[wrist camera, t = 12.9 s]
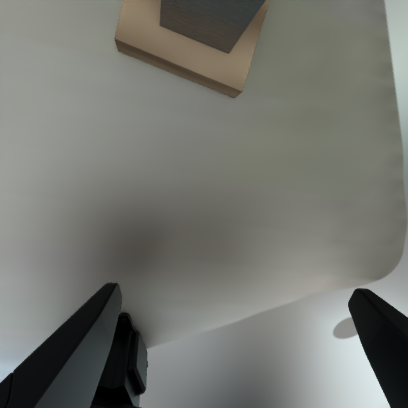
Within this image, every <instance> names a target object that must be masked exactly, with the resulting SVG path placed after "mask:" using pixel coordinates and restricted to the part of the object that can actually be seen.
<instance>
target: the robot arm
mask: <svg viewBox="0 0 408 408" xmlns="http://www.w3.org/2000/svg"><path fill="white" fill-rule="evenodd" d="M121 304H122V295H121V291H120V287H119V284H118V283H106V284H105V285H104V286H103V287H102V288H101V289H100V290H99V291H98V292H96V293H95V294H94V295H93V296H92V297H91V298H90V299H89V300H88V301H87V302H86V303H85V304H84V305H83V306H82V307H81V308H79V309H78V310H77V311H76V312H75V313H74V314H73V315H72V316H71V317H70V318H69V319H68V320H67V321H66V322H65V323H64V324H62V325H61V326H60V327H59V328H58V329H57V330H56V331H55V332H54V333H53V334H52V335H51V336H50V337H49V338H48V339H47V340H45V341H44V342H43V343H42V344H41V345H40V346H39V347H38V348H37V349H36V350H35V351H34V352H33V353H32V354H31V355H30V356H28V357H27V358H26V359H25V360H24V361H23V362H22V363H21V364H20V365H19V366H18V367H17V368H16V369H15V370H14V371H13V373H10V374H9V375H8V376H7V377H6V378H5V379H4V380H3V381H2V382H1V383H0V408H140V407H139V397H140V395H141V394H143V393H144V392H145V390H146V376H147V373H146V372H147V367H148V361H147V350H146V347H145V345H144V342H143V340H142V337H141V334H140V332H138V331H135V328H134V325H133V323H132V320H131V318H130V315H129V314H127V313H122V314H119V312H120V308H121ZM348 307H349V311H350V313H351V316H352V319H353V322H354V324H355V327H356V330H357V333H358V335H359V338H360V341H361V344H362V346H363V349H364V351H365V353H366V356H367V358H368V360H369V362H370V364H371V367H372V369H373V371H374V373H375V375H376V377H377V379H378V381H379V384H380V386H381V388H382V390H383V392H384V394H385V396H386V398H387V401H388V403H389V405H390V407H391V408H408V317H406V316H405V315H403V314H402V313H401V312H399V311H398V310H397V309H395V308H394V307H393V306H391V305H390V304H388V303H387V302H386V301H384V300H383V299H382V298H380V297H379V296H378V295H376V294H375V293H373V292H372V291H370V290H369V289H362V288H358V289H355V291H354V292H353V294H352V296H351V298H350V300H349V302H348ZM122 318H126V320H122Z"/></svg>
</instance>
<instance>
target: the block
mask: <svg viewBox="0 0 408 408" xmlns="http://www.w3.org/2000/svg"><path fill="white" fill-rule="evenodd" d="M269 1H270V0H266V1H265V2H264V4H263V5H262V7H261V8H260V9H259V11H258V12H257V14H256V15H255V17H254V18H253V20H252V21H251V23H250V24H249V25H248V27H247V28H246V30H245V31H244V33H243V34H242V36H241V37H240V39H239V40H238V41H237V43H236V44H235V46H234V47H233V49H232V50H231V52H230V53H229V54H228V53H226V52H223V51H221V50H218V49H216V48H214V47H211V46H209V45H206V44H204V43H201V42H199V41H197V40H194V39H192V38H189V37H187V36H184V35H182V34H180V33H177V32H175V31H172V30H170V29H167V28H165V27H163V26H160V7H161V0H123V3H122V7H121V12H120V16H119V20H118V25H117V29H116V33H115V38H114V39H115V42H116V45H117V48H118V51H119V52H122V53H124V54H127V55H129V56H132V57H134V58H137V59H139V60H142V61H144V62H146V63H149V64H151V65H154V66H156V67H159V68H161V69H164V70H166V71H169V72H171V73H174V74H176V75H179V76H181V77H184V78H186V79H188V80H191V81H193V82H196V83H198V84H201V85H203V86H206V87H208V88H211V89H213V90H216V91H218V92H221V93H223V94H225V95H228V96H230V97H233V98H235V97H236V96H237V95H239V94H240V93H241V92H242V91H243V88H244V84H245V81H246V78H247V74H248V71H249V68H250V64H251V61H252V58H253V54H254V51H255V48H256V44H257V41H258V38H259V34H260V31H261V28H262V24H263V21H264V18H265V14H266V11H267V8H268V4H269Z"/></svg>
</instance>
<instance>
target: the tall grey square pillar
mask: <svg viewBox="0 0 408 408" xmlns="http://www.w3.org/2000/svg"><path fill="white" fill-rule="evenodd" d="M265 1H266V0H161V7H160V26H163V27H165V28H167V29H170V30H172V31H175V32H177V33H180V34H182V35H184V36H187V37H189V38H192V39H194V40H197V41H199V42H201V43H204V44H206V45H209V46H211V47H214V48H216V49H218V50H221V51H223V52H226V53H228V54H229V53H230V52H231V50H232V49H233V47H234V46H235V44H236V43H237V41H238V40H239V39H240V37H241V36H242V34H243V33H244V31H245V30H246V28H247V27H248V25H249V24H250V23H251V21H252V20H253V18H254V17H255V15H256V14H257V12H258V11H259V9H260V8H261V7H262V5H263V4H264V2H265Z"/></svg>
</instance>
